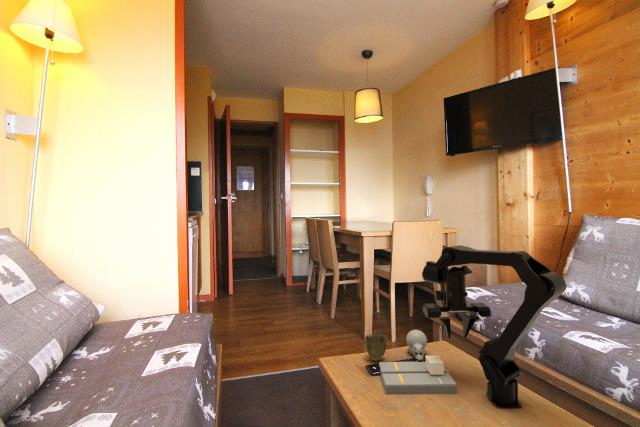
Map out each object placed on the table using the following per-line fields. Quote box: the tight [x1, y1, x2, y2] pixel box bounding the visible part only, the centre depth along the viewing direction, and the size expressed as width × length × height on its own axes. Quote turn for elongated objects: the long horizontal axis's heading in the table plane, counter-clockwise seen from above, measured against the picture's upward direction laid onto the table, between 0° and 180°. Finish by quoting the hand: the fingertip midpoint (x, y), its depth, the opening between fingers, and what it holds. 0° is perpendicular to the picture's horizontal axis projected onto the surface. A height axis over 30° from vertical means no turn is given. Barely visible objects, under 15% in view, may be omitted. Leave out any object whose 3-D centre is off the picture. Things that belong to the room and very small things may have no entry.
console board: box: [378, 361, 458, 395], centre depth 101 cm, size 20×14×3 cm
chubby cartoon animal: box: [405, 329, 428, 360], centre depth 117 cm, size 7×12×8 cm, turn 168°
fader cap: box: [424, 355, 445, 375], centre depth 100 cm, size 4×5×4 cm
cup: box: [364, 333, 388, 363], centre depth 115 cm, size 8×7×8 cm
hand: (456, 338), depth 100 cm, fingers open, 4 cm apart
